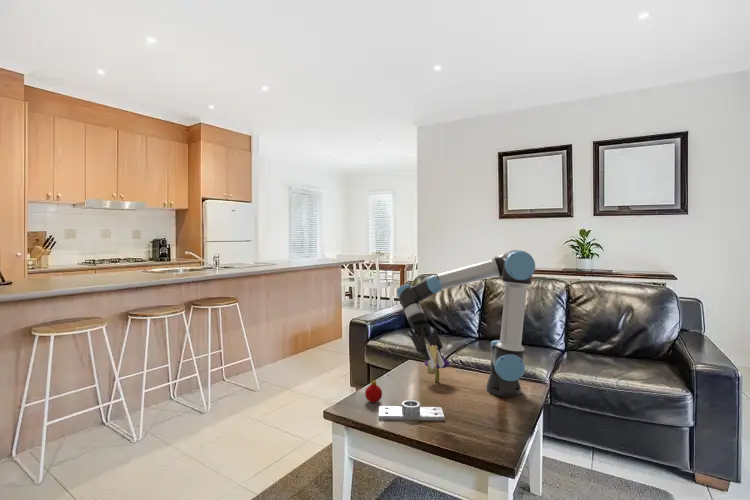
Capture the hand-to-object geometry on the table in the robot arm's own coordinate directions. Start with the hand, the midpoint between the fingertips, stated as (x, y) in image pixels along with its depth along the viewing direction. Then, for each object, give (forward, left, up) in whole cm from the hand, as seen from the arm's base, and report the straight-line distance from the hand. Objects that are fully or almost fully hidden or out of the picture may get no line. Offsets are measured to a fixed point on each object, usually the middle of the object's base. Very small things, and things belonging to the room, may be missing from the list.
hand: (437, 366), depth 158 cm
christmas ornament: (+26, -12, -19) cm, 34 cm away
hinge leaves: (+11, 0, -19) cm, 22 cm away
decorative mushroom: (-4, -38, -19) cm, 43 cm away
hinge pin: (+2, -3, -4) cm, 5 cm away
